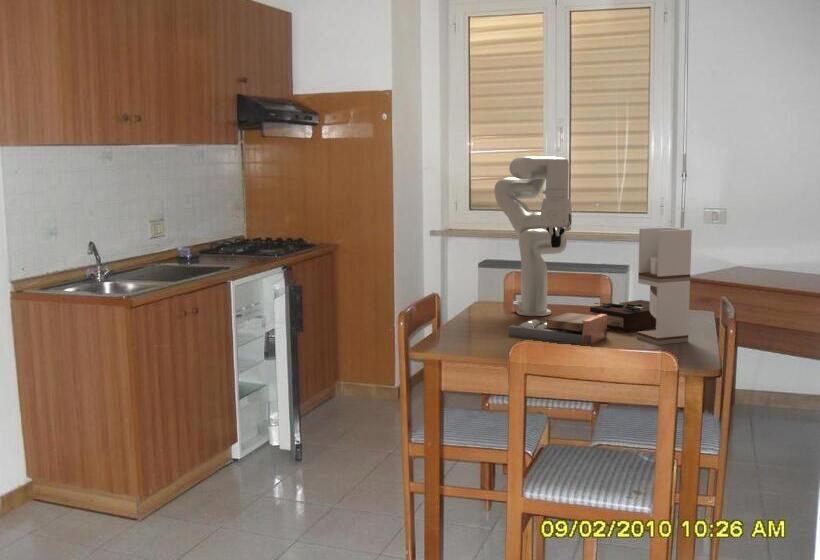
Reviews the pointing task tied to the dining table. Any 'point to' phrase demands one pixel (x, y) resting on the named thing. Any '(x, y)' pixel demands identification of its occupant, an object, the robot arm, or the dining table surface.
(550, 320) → the slab
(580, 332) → the roller
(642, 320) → the decorative book
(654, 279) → the white tower
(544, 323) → the track
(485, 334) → the dining table surface
